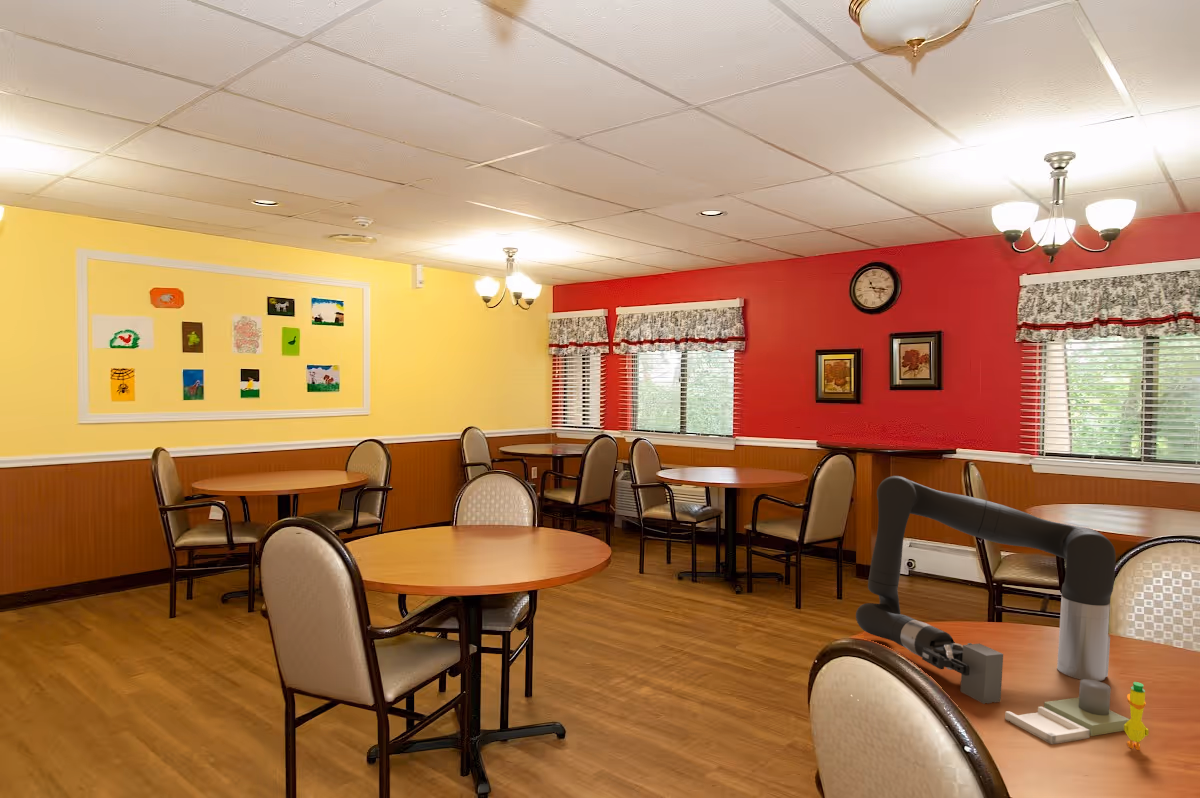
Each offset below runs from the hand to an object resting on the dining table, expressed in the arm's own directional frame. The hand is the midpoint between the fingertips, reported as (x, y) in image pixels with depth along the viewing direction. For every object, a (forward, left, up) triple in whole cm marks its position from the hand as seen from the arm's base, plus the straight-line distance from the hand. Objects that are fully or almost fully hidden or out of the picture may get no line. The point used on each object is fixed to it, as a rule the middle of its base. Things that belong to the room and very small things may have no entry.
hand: (984, 669), depth 151 cm
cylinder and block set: (-7, +14, -6) cm, 16 cm away
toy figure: (-11, +23, -6) cm, 27 cm away
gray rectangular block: (0, -1, -6) cm, 6 cm away
